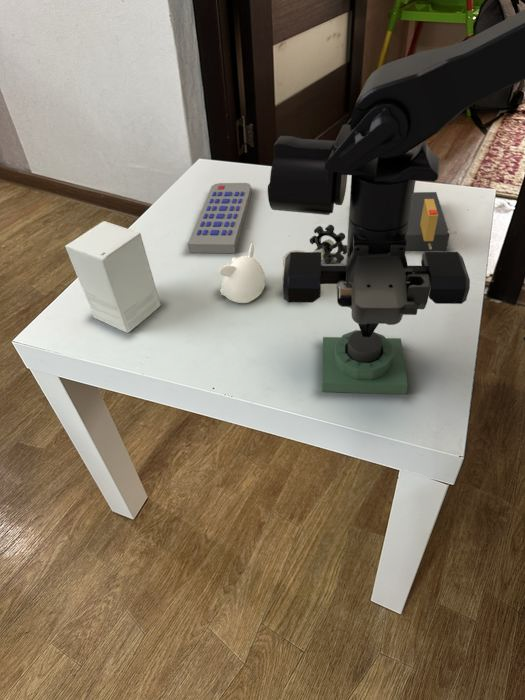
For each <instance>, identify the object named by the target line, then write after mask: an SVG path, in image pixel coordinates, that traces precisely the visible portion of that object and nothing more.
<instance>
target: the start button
mask: <svg viewBox="0 0 525 700" xmlns="http://www.w3.org/2000/svg"><path fill="white" fill-rule="evenodd" d="M374 332H375V331H374ZM374 332H373V333H372V335H371V336H370V337H363V336H362V333H361V331H357V332H354V333H353V334H351V335H350V337H349V339H348V349H347V352H348V355H349V356H350V358H351V359H353V360H355V361H357V362H359V363H371V362H374V361H376V360H377V359H378V358H379V357H380V354H381V347H382V340H381V338H380V337H379V336H378V335H377V334H376V333H377V332H375V333H374Z"/></svg>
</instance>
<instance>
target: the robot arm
mask: <svg viewBox="0 0 525 700" xmlns="http://www.w3.org/2000/svg"><path fill="white" fill-rule="evenodd" d="M523 81H525V9H522V10H521V11H519V12H517V13H515V14H513V15H512V16H510V17H507V18H506V19H504V20H502V21H500V22H498V23H496V24H494V25H492V26H490V27H489V28H487V29H485V30H483V31H481V32H479V33H477V34H475V35H473V36H472V37H470V38H468V39H465V40H463V41H460V42H457V43H454V44H451V45H447V46H444V47H438V48H432V49H427V50H423V51H419V52H416V53H414V54H411V55H407V56H404V57H401V58H399V59H395V60H393V61H390V62H387V63H385V64H383V65H381V66H379V67H378V68H377V69H376V70H374V71H373V72H372V73H371V74H370V75H369V77H368V78H367V79H366V81H365V83H364V84H363V87H362V89H361V91H360V93H359V95H358V98H357V100H356V101H355V103H354V107H353V108H352V111H351V115H350V119H349V120H348V121H347V123H346V124H343V125H342V126H341V129H340V130H339V133H338V135H337V137H336V138H335V140H328V139H313V138H312V139H311V138H299V137H297V136H292V135H280V136H279V137H278V138H277V140H276V141H275V143H274V144H273V160H272V163H271V168H270V175H269V183H268V185H267V198H268V199H267V200H268V204H269V207H270V209H271V210H273V211H278V212H279V211H281V212H293V213H301V214H312V215H313V214H314V215H321V216H323V215H324V216H330V214H333V213H334V207H335V205H336V206H342V205H343V203H344V200H345V196H346V190H347V183H348V176H351V177H350V179H351V180H350V193H349V195H350V196H349V211H348V223H347V225H348V226H347V242H346V245H347V253H346V259H345V260H346V261H345V263H330V264H326V263H323V264H322V261H321V252H313V251H304V252H290V251H289V252H290V254H289V255H288V256H287V257H286V259H285V268H284V267H283V270H284V277H283V279H282V291H283V292H282V294H283V300H284V301H286V302H287V303H311V304H312V303H315V302H316V301H317V300H318V299H320V298H321V291H322V290H321V288H322V287H321V285H336V297H337V298H336V299H337V301H336V302H337V305H338V306H340V307H342V308H350V309H351V318H352V320H353V322H355V323H356V324H358V327H359V330H361V333H362V336H363V337H370V336H371V335H372V333H373V332H375V331H376V329H377V327H378V326H379V325H381V324H382V325H384V324H385V325H387V326H393V325H397V324H399V323H400V322H401V321H402V320H403V316H417V314H418V310H425V308H426V306H427V304H428V302H429V301H428V300H431V301H432V302H433V303H434V304H439V305H441V304H444V305H445V304H446V305H452V304H453V305H462V304H464V303H465V302H466V301H467V299H468V295H469V292H470V288H471V286H470V285H471V279H470V276H469V273H468V270H467V266H466V263H465V261H464V258H463V256H462V255H461V253H459V251H423V253H422V255H421V261H420V265H409V264H408V260H407V256H406V252H407V251H406V238H407V232H408V225H409V219H410V213H411V206H412V200H413V194H414V192H415V187H416V182H417V181H418V182H419V181H420V182H436V181H437V180H438V179H439V174H440V166H441V158H440V157H439V156H438V155H437V154H436V153H435V152H434V151H432V150H431V149H430V147H429V145H428V142H427V140H429V139H430V138H432V137H433V136H435V135H437V134H438V133H439V132H441V130H443V129H444V128H445V127H447V125H449V124H450V123H451V122H452V121H454V120H455V119H456V118H457V117H458V116H459V115H460V114H462V113H463V112H464V111H466V110H467V109H469V108H470V107H472V106H473V105H475V104H477V103H478V102H479V101H482V100H483V99H487V98H488V97H491V96H492V95H495V94H497V93H498V92H501V91H504V90H505V89H508V88H510V87H512V86H514V85H517V84H520V83H521V82H523Z"/></svg>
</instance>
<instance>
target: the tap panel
mask: <svg viewBox="0 0 525 700" xmlns="http://www.w3.org/2000/svg"><path fill="white" fill-rule="evenodd" d="M425 199H434V202H435V205H436V209H437V212H438V220H437V225H436V229H435V234H434V239H433V241H424V239H423V235H422V230H421V226H420V222H421V217H422V211H423V205H424V200H425ZM450 234H458V231H456V230H455V231H451V230H450V231H449V228H448V225H447V222H446V218H445V214H444V212H443V209H442V206H441V202H440V200H439V195H438V194H437V191H416V192H415V191H414V194H413V200H412V206H411V213H410V219H409V225H408V232H407V238H406V251H405V252H421V251H422V252H447V248H448V243H449V240H450Z"/></svg>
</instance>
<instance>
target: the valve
mask: <svg viewBox="0 0 525 700" xmlns="http://www.w3.org/2000/svg"><path fill="white" fill-rule="evenodd" d="M313 233H314V234H317V235H312V236H311V237H310V239H309V243H310V244H311V245H314V244H315V245H316V248H315V249H314V250H313V251H312V252H321V262H322V261H324V264H332V262H333V261H334V259H336V261H335V263H336V264H342V262H343V261H344V260H345V256H344V255H347V244H343V241H344V240H345V239H346V234H345V233H344V232H339V233H338V234H336V233H335V226H334V225H333V224H328V225H327V226H326V227H325V229H324V228H323V226H321V225H318V226H316V227H315V228H314V229H313ZM326 236H327V237H330V239H329V238H328V239H326V240H323V241H322V238H323V237H326ZM331 238H332V239H333V240H332V239H331ZM335 249H337V251H336V252H333V253H331V252H332V251H333V250H335ZM290 252H305V251H304V250H300V249H298V250H297V249H296V250H294V249H293V250H289V251H288V252H286V253H285V254H284V256H282V267H283V270H282V272H281V273H282V274H281V275H282V276H281V277H282V278H281V279H282V280H283V277H284V268H285V259H286V257H287V256H288V255H289V254H290Z"/></svg>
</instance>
